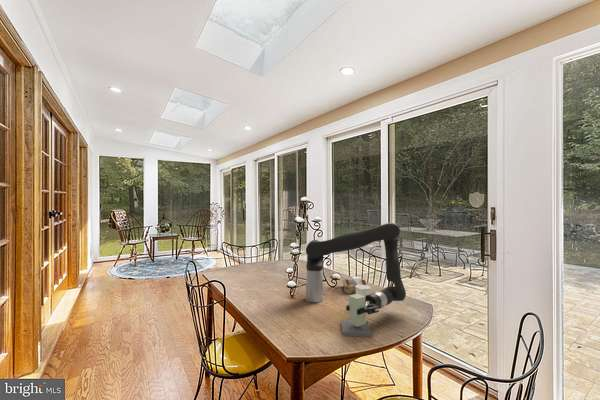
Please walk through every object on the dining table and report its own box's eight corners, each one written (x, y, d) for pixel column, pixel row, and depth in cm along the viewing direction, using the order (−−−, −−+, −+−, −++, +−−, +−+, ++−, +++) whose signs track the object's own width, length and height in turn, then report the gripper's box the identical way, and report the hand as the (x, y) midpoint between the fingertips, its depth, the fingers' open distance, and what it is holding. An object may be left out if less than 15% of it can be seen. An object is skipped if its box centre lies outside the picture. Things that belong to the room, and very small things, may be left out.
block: (357, 326, 130) (357, 298, 130) (349, 322, 134) (349, 295, 134) (365, 323, 133) (365, 296, 133) (357, 320, 137) (357, 293, 137)
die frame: (345, 293, 182) (345, 286, 182) (343, 285, 197) (343, 278, 197) (368, 294, 181) (369, 286, 181) (365, 286, 196) (365, 279, 196)
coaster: (342, 335, 128) (342, 332, 128) (341, 323, 140) (341, 320, 140) (371, 336, 127) (371, 333, 127) (367, 324, 139) (367, 321, 139)
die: (351, 287, 195) (344, 277, 191) (363, 281, 194) (356, 271, 190) (354, 296, 187) (347, 285, 183) (367, 290, 186) (360, 279, 183)
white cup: (367, 309, 157) (367, 290, 157) (353, 306, 161) (353, 287, 161) (372, 304, 164) (372, 286, 164) (358, 301, 168) (358, 283, 168)
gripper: (363, 289, 148) (339, 297, 137) (388, 297, 137) (365, 306, 126) (362, 304, 148) (339, 313, 137) (388, 313, 137) (365, 324, 126)
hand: (352, 310), depth 131 cm, fingers closed on block, 5 cm apart
